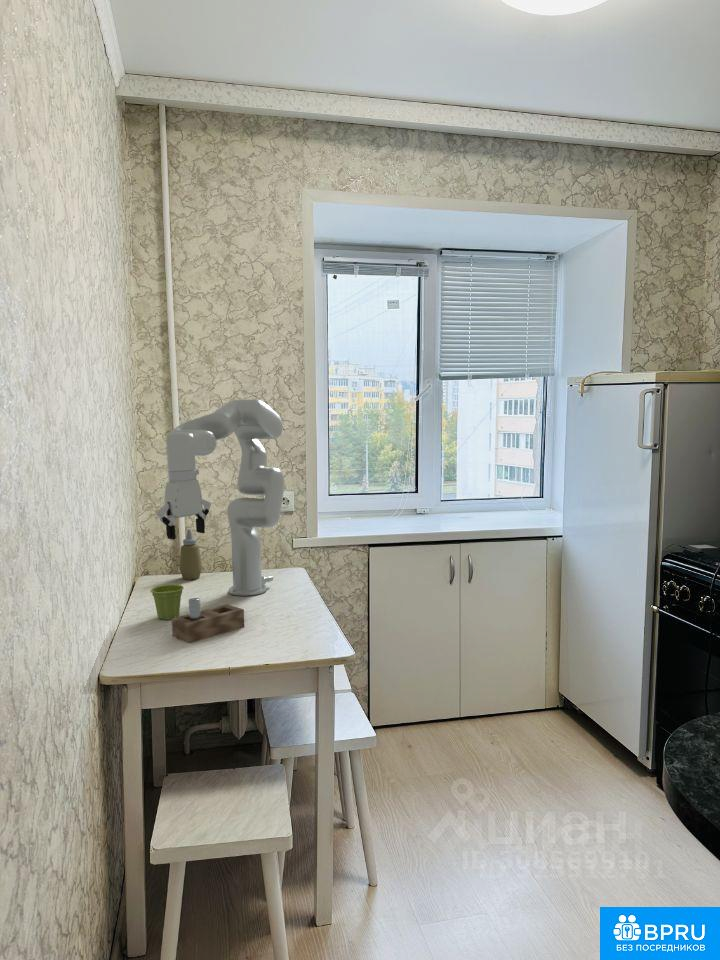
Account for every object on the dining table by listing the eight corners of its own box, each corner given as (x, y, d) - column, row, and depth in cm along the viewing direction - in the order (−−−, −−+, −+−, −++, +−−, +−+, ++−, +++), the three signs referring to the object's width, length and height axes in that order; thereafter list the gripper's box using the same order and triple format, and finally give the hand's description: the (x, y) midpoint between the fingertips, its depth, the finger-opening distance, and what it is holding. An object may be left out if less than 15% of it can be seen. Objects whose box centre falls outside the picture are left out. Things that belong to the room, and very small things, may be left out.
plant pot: (151, 614, 207) (150, 586, 206) (183, 610, 210) (182, 583, 209) (152, 623, 198) (150, 593, 197) (185, 619, 201) (184, 590, 200)
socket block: (227, 621, 199) (227, 604, 198) (244, 626, 193) (243, 609, 193) (172, 636, 186) (171, 618, 185) (189, 643, 180) (188, 624, 180)
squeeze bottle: (181, 576, 254) (179, 528, 253) (203, 575, 255) (201, 527, 254) (178, 581, 246) (175, 531, 245) (201, 580, 247) (199, 531, 246)
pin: (197, 633, 188) (196, 597, 187) (203, 635, 186) (202, 599, 185) (187, 635, 186) (186, 599, 185) (194, 638, 184) (192, 601, 183)
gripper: (200, 471, 202) (203, 528, 205) (147, 479, 190) (152, 539, 192) (215, 473, 197) (219, 531, 200) (162, 481, 185) (167, 543, 187)
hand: (186, 535), depth 196 cm, fingers open, 9 cm apart
